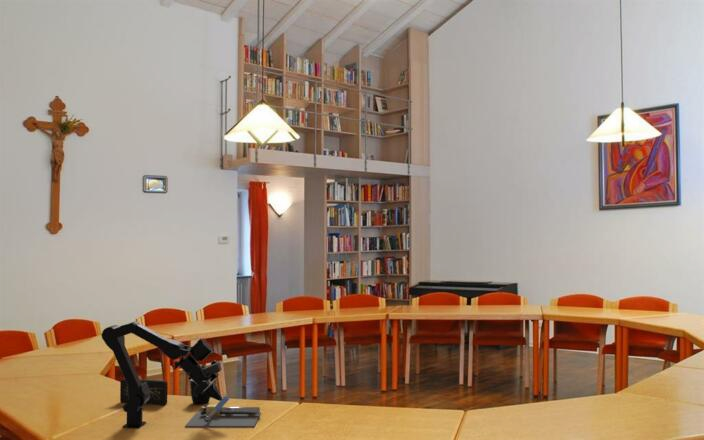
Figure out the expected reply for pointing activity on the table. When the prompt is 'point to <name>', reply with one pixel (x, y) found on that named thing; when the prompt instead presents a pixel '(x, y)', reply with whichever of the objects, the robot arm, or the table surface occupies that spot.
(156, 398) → the nameplate
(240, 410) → the valve pipe
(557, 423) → the table surface
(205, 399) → the mug
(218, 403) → the valve lever
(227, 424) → the gray mounting plate
